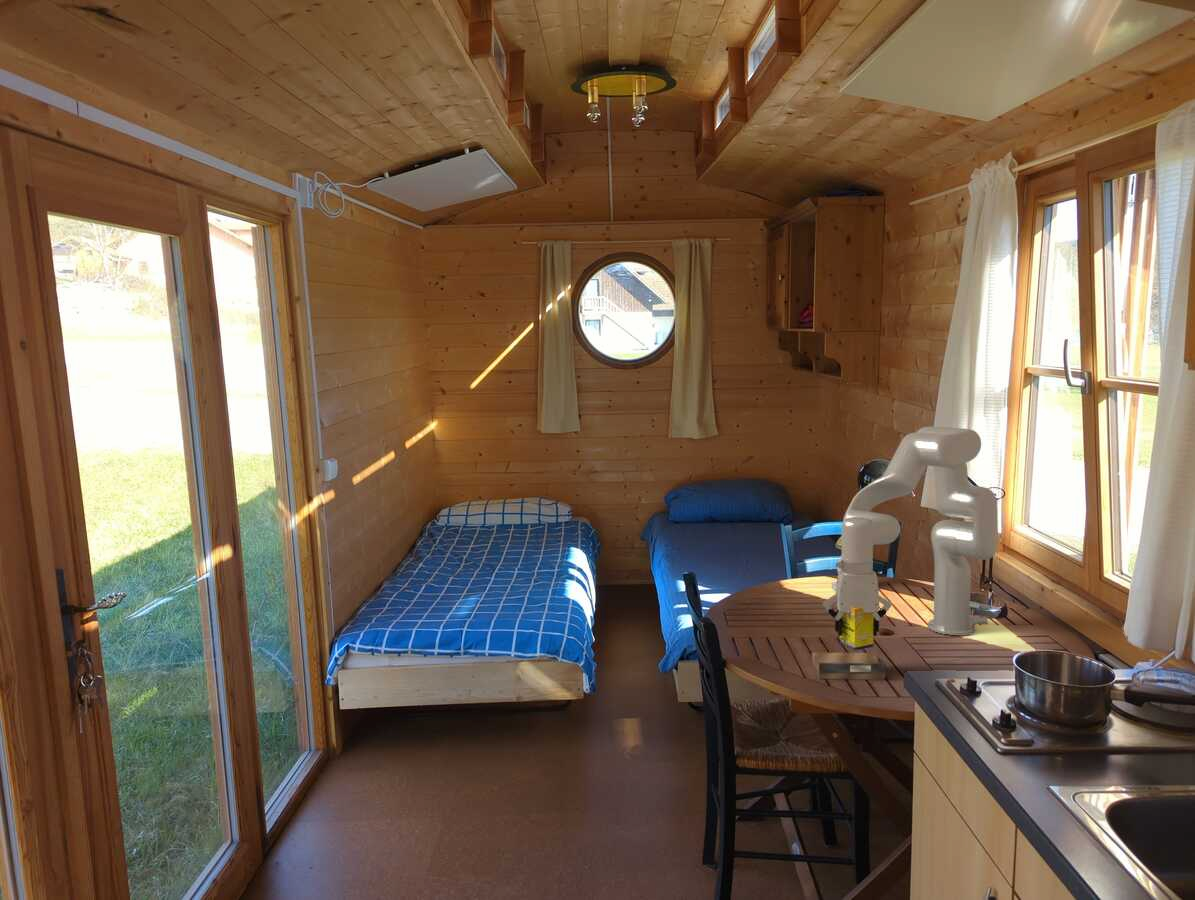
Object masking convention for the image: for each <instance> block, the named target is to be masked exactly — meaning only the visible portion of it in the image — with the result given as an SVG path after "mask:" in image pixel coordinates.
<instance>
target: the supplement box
mask: <svg viewBox="0 0 1195 900" xmlns="http://www.w3.org/2000/svg"><path fill="white" fill-rule="evenodd" d="M841 621H842V635H841V636H839V642H840V645H844V646H846V647H847V648H850V649H851V650H853V651H859V650H865V649H869V648H873V647H874V636H873V630H874V616H873V613H864V612H863V607H852V608H851V613H844V614H843V615H842V617H841Z"/></svg>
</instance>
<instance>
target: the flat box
mask: <svg viewBox="0 0 1195 900" xmlns="http://www.w3.org/2000/svg"><path fill="white" fill-rule="evenodd" d="M811 659H812V662H813V664H814V668H815V670H816V671H815V672H816V673H817V678H818V679H819V680H877V681H878V680H879V681H880V680H881V681H883V680H885V681H886V663H885V662H880V661H879V660H878V657H877V656H876V654H875V652H812V653H811Z"/></svg>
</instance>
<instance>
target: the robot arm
mask: <svg viewBox="0 0 1195 900" xmlns="http://www.w3.org/2000/svg"><path fill="white" fill-rule="evenodd" d="M898 445H899V446H898V447H897V449H896V451H895V452H894V454H893V456H892V458H891V460H890V461H889V464H888V466H887V468H886V469H885V472H884V474H883V475H881V476H880V477H878V478H876V479H875V480H873V481H872V482H870V483H868V484H867V485H866V486H864V487H863V488H862V489H861V490H859V491H858V492H857V493H856V494H855V495H854V496H853V498H852V500H851V502H850V504H849V505H848V507H847V509H846V511H845V514H844V516H843V519H842V522H841V536H842V550H841V553H842V554H841V555H842V559H841V561H840V562H839V561H837V562H835V568H837V569H838V568H840V569H842V570H840V571H839V574H838V575H837V579H836V580H837V581H836V582H837V587H836V590H835V594H834V595H832V596H830V597H829V598H828V599H826V600H824V601H823V602H822V605H823V607H824V608H825V609H826V611H827V613H828V614H829V615H830V616H831V617H832V618H833V619H834V632H836V634H837V635H838V636H839V637H840V636H841V635H842V621H841V617H842V615H843V614H844V613H851V608H852V607H863V612H864V613H873V616H874V630H873V637H877V636H878V635H877V634H878V632H880V621H881V619H882V618H883V617H884V616H885V615H886V614H887V612H888V611H889V610H890V608H891V607H892V603H891V602H890V601H889V600H887V599H885V598H884V597H883V596H881V595H880V594H879V591H880V590H879V582H878V575H877V573H876V572H875V571H874V570H873V568H874V566H873V565H874V560H873V559H874V546H875V545H888V544H891V543H893V542H894V541H896V540H897V539H898V537H899V536H900V532H901V525H900V522H899V521H898V519H897V518H895V517H894V516H892V515H889V514H887V513H886V514H884V513H879V512H874V511H871V510H872V509H873V508H875V507H876V506H878V505H879V504H881V503H882V504H883V503H884V502H887V501H889V500H892V499H897V498H901V497H905V496H907V495H910V494H912V493H913V492H914V491H915V489H916V487H917V485H918V484H919V482H920V479H921V477H922V475H923V473H924V471H925V470H926V468H927V467H929V466H931V467H933V470H934V483H935V485H934V486H935V487H934V488H935V489H934V490H935V506H936V510H937V511H938V513H939V514H940V515H942V516H946V517H950V518H954V519H960V520H962V519H963V520H968V521H972V522H966V521H960V520H954V519H944V520H939V521H937V522H936V523H935V524H933V527H932V530H931V535H930V540H931V545H932V549H933V558H934V559H933V561H934V576H933V577H934V579H933V580H934V583H933V585H934V586H933V587H934V589H933V619H930V620H929V621H928V622H927V627H929V628H928V629H931V631H932V630H933V631H932V632H934V631H935V632H934V633H936V632H938V634H940V633H942V634H941V635H944V634H950V635H949V636H951V635H964V636H967V635H966V634H970V633H972V634H974V633H975V632H976V625H988V624H989V623H988V621H989V619H988V617H986V616H985V617H984V616H982V617H981V615H975V614H974V615H973V614H971V613H970V612H971V578H972V577H971V574H972V573H971V567H970V563H969V561H968V559H967V558H969V559H976V560H981V561H982V560H983V561H984V560H989V559H992V558H993V557H994V556H995V555H996V553H997V550H998V545H999V543H998V542H999V523H998V522H999V519H998V517H999V515H998V512H999V511H998V501H997V498H996V495H995V493H994V492H993V491H992V490H991V489H990V488H988V487H984V486H979V485H971V484H970V483H969V476H968V474H969V473H968V465H967V463H968V462H971V461H973V460H974V459H976V457H977V456H978V455H979V454H980V452H981V449H982V440H981V437H980V435H979V433H978V432H977V431H975V430H974V429H970V428H961V427H960V428H959V427H957V428H956V427H947V426H933V425H932V426H929V425H928V426H924V427H921V428H919V429H918V430H917V431H916V432H911V433H908V434H906V435H905V436H904V437H903V438H902V439H901V442H900V443H899V444H898ZM834 603H835V605H836V610H835V609H833V608H832V606H831V605H833V604H834ZM880 604H882V607H881V608H880ZM974 631H975V632H974ZM973 632H974V633H973ZM970 635H971V634H970Z"/></svg>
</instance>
